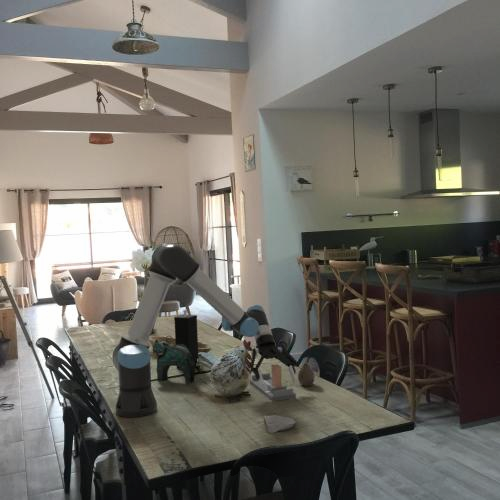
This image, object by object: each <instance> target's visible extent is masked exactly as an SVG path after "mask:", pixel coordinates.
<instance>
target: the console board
mask: <svg viewBox="0 0 500 500" xmlns="http://www.w3.org/2000/svg"><path fill="white" fill-rule="evenodd" d="M261 374H262V378H263V381H264V386H263V388H261V386H260V382H259V379H256V377H255V374H254V373H253V374H251V379H249V385H251V386H252V385H253V386H252V387H253V388H255V389H256V390H257V391H259V392H260V393H261V394H262V395H263V396H264V397H266V398H267V399H268V400H270V402H277V401H283V400H290V399H296V398H297V394H296V393H295V392H294V388H291V387H290V388H288V387H287V386H286V389H283V390H276V391H273V392H271V391H270V390H269V389H268V385H272V376H271V373H270V372H261Z"/></svg>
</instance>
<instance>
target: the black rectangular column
mask: <svg viewBox="0 0 500 500" xmlns="http://www.w3.org/2000/svg"><path fill="white" fill-rule="evenodd" d="M182 311H183V314H181V315H177V316H174V318H173V319H174V320H173V321H174V335H175V336H174V338H175V339H174V340H175V342H174V343H175V345H176V344H181V345H184V346H186V347H187V348H188V349H189V352H190V353H191V355H192V357H193V361H194V366H195V368H197V367H196V363H197V358H198V359H199V344H198V343H199V339H198V335H199V334H198V316H197V314H188V309H184V310H182ZM181 345H176V346H181ZM184 346H182V347H184ZM176 369H180V370H182V369H181V368H180V367H178V366H176Z"/></svg>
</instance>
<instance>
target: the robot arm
mask: <svg viewBox="0 0 500 500" xmlns="http://www.w3.org/2000/svg"><path fill="white" fill-rule="evenodd" d="M147 273H148V274H149V278H148V281H147V283H146V285H145V288H144V290H143V293H142V295H141V299H140V301H139V303H138V305H137V308H136V311H135V313H134V315H133V318H132V321H131V324H130V326H129V328H128V331H127V332H126V333H125V334H122V335H121V338H120V340H119V343H118V344H117V345H116V346H115V348H114V350H113V352H112V356H111V357H112V364H113V365H114V368H115V369H116V370H117V372H118V386H119V387H118V388H119V389H118V390H119V392H118V396H117V399H116V403H115V414H116V415H117V416H119V417H121V418H123V417H124V418H139V417H145V416H148V415H151V414H154V413H155V412H156V411H157V410H158V403H157V399H156V397H155V394H154V392H153V389H152V374H151V370H152V369H151V354H150V346H151V345H150V343H149V340H150V337H151V334H152V331H153V329H154V327H155V324H156V321H157V318H158V316H159V313H160V311H161V308H162V307H163V306H162V305H163V303H164V301H165V298H166V295H167V293H168V291H169V288H170V285H172V284H173V283H175V282H176V281H177V280H178V281H179V282H181V284H186V285H188V286H189V287H190V288H191V289H192V290H193V291H194V292H195V293H196V294H198V296H200V297H201V298H202V299H203V300H204V301H205V302H206V303H207V304H208V305H209V306H210V307H211V308H213V309H214V310H215V311H216V312H217V313H218V314H219V315H220V316H221V327H222V329H223V330H224V331H225V332H233V331H235V332H236V333H238V334H241V336H243V337H246V338H253V337H254V341H255V344H256V347H257V349H256V348H253V347H252V350H251V360H250V363H251V372H250V373H253V375H254V374H255V377H256V379H259V382H260V386H261V388H263V386H264V381H263V378H262V372H261V369H259V368H260V367H261V365H262V363H263V361H264V360H269V359H275V360H278V361H279V362H281V363H282V364H284V365H285V366H287V367H288V372H289V375H290V378H291V382H292V383H293V384H295V383H296V382H297V380H298V378H297V376H296V373H297V370H296V368H295V367H296V366H297V364H298V361H297V360H296V359H295V358H294V357H293V356H292V355H291V354H290V352H289V351H288V350H286V348H285V346H284V345H283V344H282V345H280V346H279V347H278V346H277V344H276V342H275V338H274V336H273V333H272V329H271V327H270V325H269V321H268V318H267V314H266V311H265V309H264V308H263V306H261V305H259V304H254V305H251V306H249V307H248V308H247V309H246V311H245V310H244V309H243V308H242V307H241V306H240V305H239V304H237V303H236V302H235V301H234V300H233V298H231V297H230V295H228V294H227V293H226V292H225V291H224V290H223V289H222V288H221V287H220V286H219V285H218V284H217V283H216V282H214V280H212V279H211V277H209V276H208V275H207V274H206V273H205V272H204V271H203V270H202V269H201V264H200V263H198V262H197V260H196V259H194V257H193V256H192V255H191V254H190V253H189V252H188V251H187V249H185V248H184V247H183V246H181V245H179V244H172V243H163V244H160V245H159V246H157V247H155V249H154V250H153V252H152V254H151V263H150V265H149V268H148V272H147ZM257 355H260V357H259V359H258V361H257V363H256V365H255V361H256V358H257ZM254 365H255V367H254Z"/></svg>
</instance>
